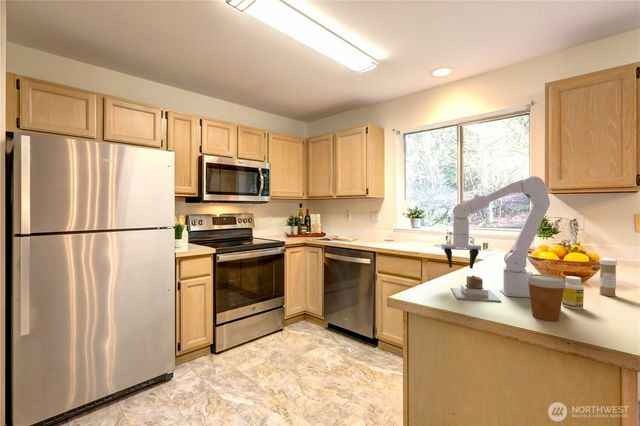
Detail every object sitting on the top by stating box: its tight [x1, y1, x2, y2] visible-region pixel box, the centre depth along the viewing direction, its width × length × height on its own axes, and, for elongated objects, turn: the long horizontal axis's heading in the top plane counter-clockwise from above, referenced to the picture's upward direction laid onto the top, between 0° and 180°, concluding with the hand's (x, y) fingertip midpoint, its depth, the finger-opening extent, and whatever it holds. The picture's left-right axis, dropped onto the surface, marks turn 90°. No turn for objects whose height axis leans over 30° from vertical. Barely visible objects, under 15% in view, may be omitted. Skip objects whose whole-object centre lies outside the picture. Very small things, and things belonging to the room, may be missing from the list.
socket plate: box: [450, 287, 502, 303], centre depth 114 cm, size 14×14×1 cm
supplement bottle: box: [561, 275, 585, 310], centre depth 100 cm, size 5×5×10 cm
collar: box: [460, 283, 489, 297], centre depth 114 cm, size 8×8×2 cm
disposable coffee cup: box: [527, 273, 566, 322], centre depth 91 cm, size 10×10×12 cm
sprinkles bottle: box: [598, 257, 618, 297], centre depth 114 cm, size 5×5×14 cm
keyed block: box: [466, 275, 484, 289], centre depth 114 cm, size 4×4×6 cm
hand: (460, 267), depth 124 cm, fingers open, 7 cm apart
